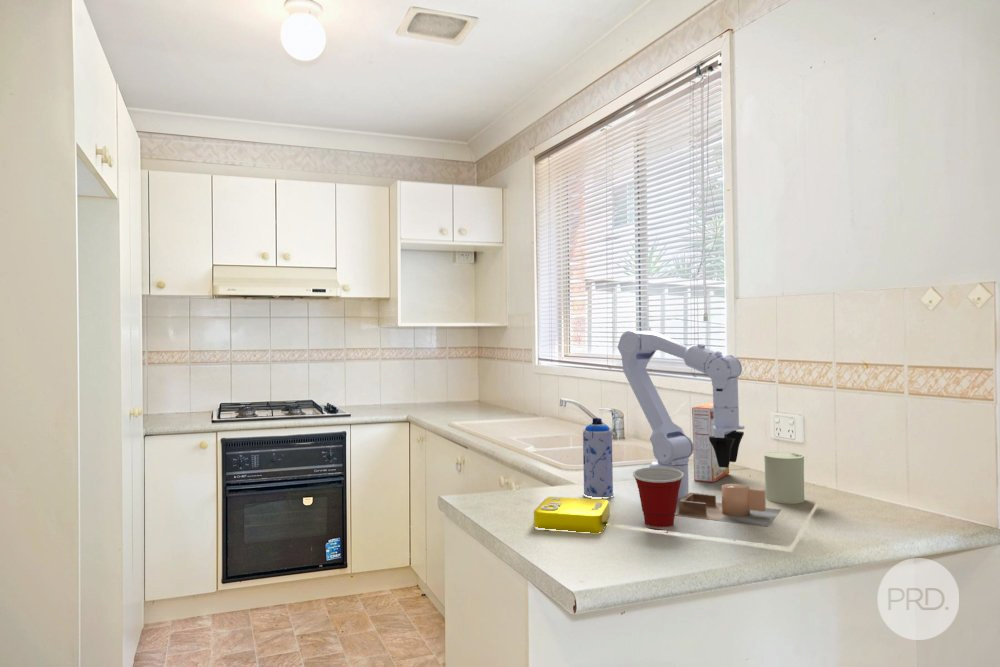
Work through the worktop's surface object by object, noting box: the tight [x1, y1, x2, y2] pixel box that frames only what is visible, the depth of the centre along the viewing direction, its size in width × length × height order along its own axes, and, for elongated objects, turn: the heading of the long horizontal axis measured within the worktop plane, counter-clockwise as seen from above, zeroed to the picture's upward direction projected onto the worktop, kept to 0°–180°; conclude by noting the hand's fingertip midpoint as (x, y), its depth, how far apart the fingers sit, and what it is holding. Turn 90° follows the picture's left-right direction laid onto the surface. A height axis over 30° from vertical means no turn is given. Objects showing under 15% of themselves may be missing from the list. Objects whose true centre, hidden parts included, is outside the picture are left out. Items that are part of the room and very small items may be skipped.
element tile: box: [533, 496, 611, 533], centre depth 158 cm, size 15×15×5 cm
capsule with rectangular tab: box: [721, 483, 767, 517], centre depth 160 cm, size 6×9×6 cm, turn 59°
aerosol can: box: [582, 417, 614, 497], centre depth 183 cm, size 8×8×20 cm
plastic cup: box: [632, 466, 684, 531], centre depth 153 cm, size 11×11×12 cm
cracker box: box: [691, 401, 730, 483], centre depth 203 cm, size 14×6×21 cm, turn 144°
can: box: [763, 451, 806, 505], centre depth 173 cm, size 9×9×12 cm
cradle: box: [675, 492, 782, 528], centre depth 161 cm, size 16×20×3 cm
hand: (727, 464), depth 168 cm, fingers open, 7 cm apart
